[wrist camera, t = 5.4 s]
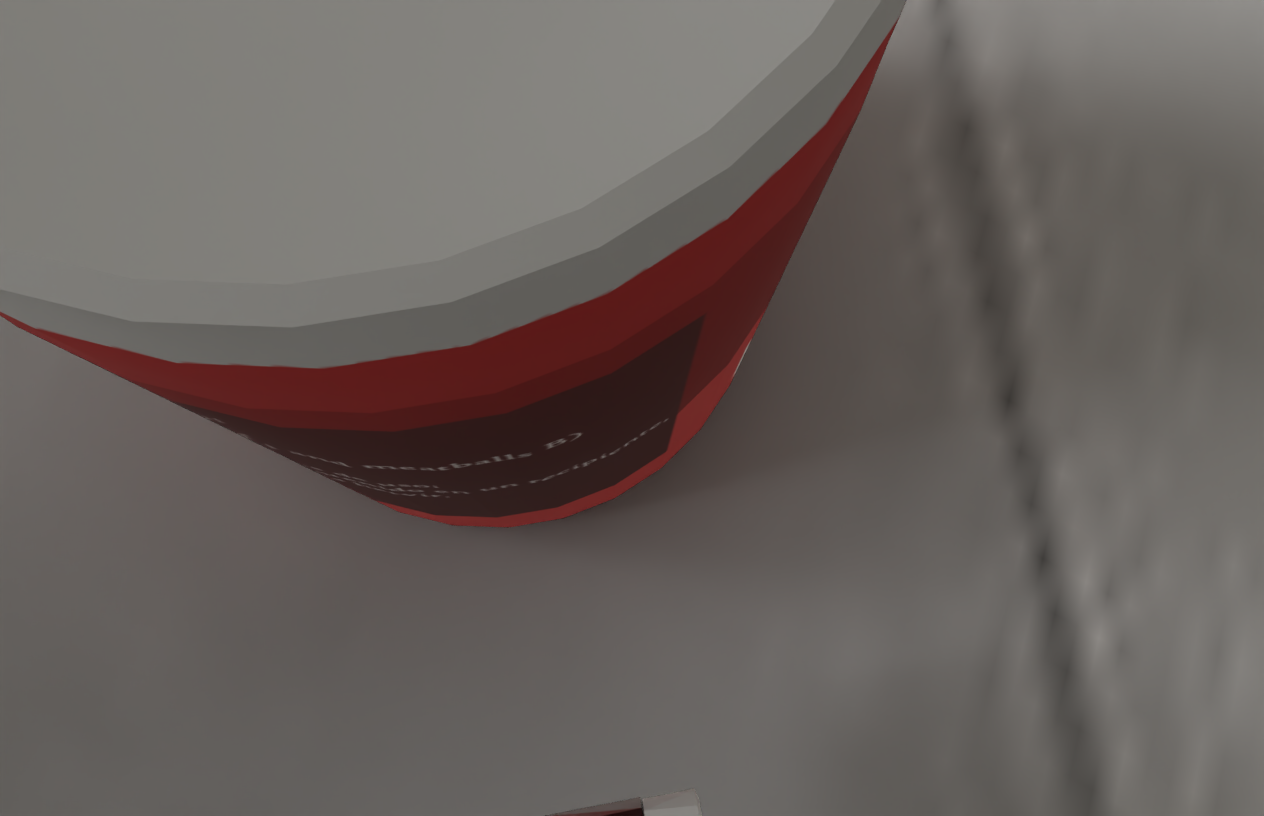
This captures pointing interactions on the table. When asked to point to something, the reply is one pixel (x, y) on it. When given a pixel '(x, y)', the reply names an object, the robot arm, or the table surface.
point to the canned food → (424, 220)
